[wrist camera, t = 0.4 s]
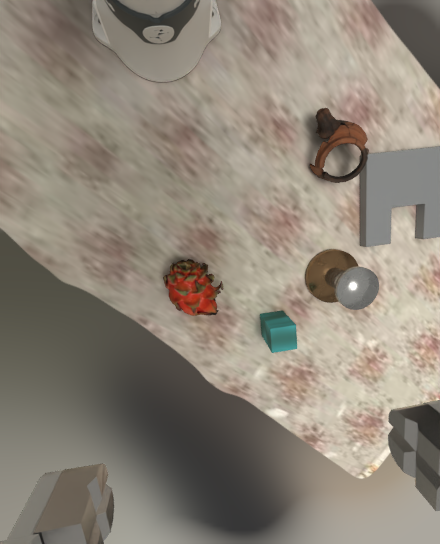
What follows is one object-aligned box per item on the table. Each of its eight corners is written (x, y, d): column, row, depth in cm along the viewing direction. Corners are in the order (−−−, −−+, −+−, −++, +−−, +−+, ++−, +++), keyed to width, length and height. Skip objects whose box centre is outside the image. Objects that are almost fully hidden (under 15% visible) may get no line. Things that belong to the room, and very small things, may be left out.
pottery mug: (368, 144, 53) (384, 163, 47) (320, 177, 57) (329, 199, 51) (334, 85, 47) (349, 98, 41) (284, 128, 52) (290, 145, 46)
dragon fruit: (173, 250, 54) (211, 296, 59) (142, 282, 50) (185, 330, 54) (201, 243, 48) (241, 296, 52) (168, 280, 43) (214, 334, 48)
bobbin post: (303, 252, 55) (327, 262, 46) (354, 246, 56) (388, 254, 47) (306, 303, 58) (329, 322, 49) (355, 296, 59) (386, 313, 49)
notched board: (360, 155, 53) (366, 154, 51) (443, 147, 54) (453, 144, 52) (359, 245, 56) (366, 246, 54) (437, 234, 58) (446, 235, 56)
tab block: (260, 314, 57) (270, 328, 50) (282, 310, 58) (295, 324, 51) (261, 335, 58) (272, 352, 51) (284, 331, 59) (297, 348, 52)
